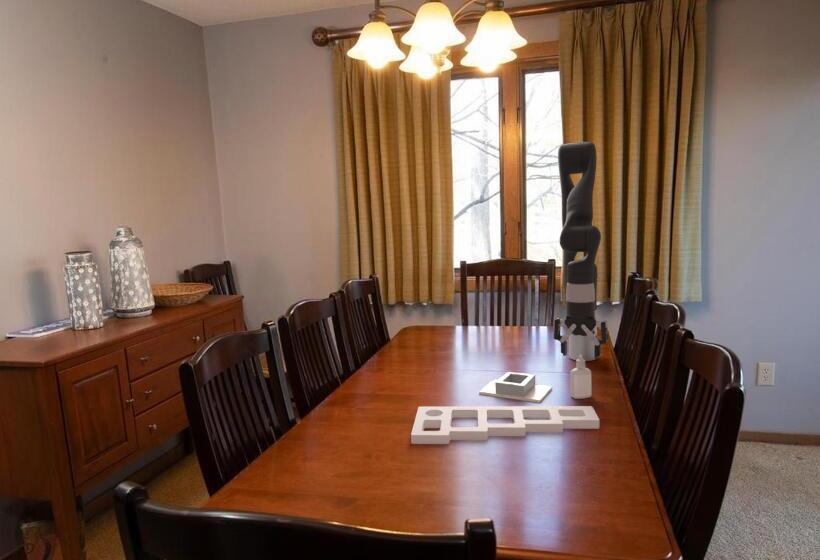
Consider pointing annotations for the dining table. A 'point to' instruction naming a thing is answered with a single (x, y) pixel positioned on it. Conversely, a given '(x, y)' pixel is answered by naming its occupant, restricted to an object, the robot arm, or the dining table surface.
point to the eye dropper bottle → (580, 380)
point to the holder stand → (517, 388)
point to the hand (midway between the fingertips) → (580, 356)
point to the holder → (443, 419)
